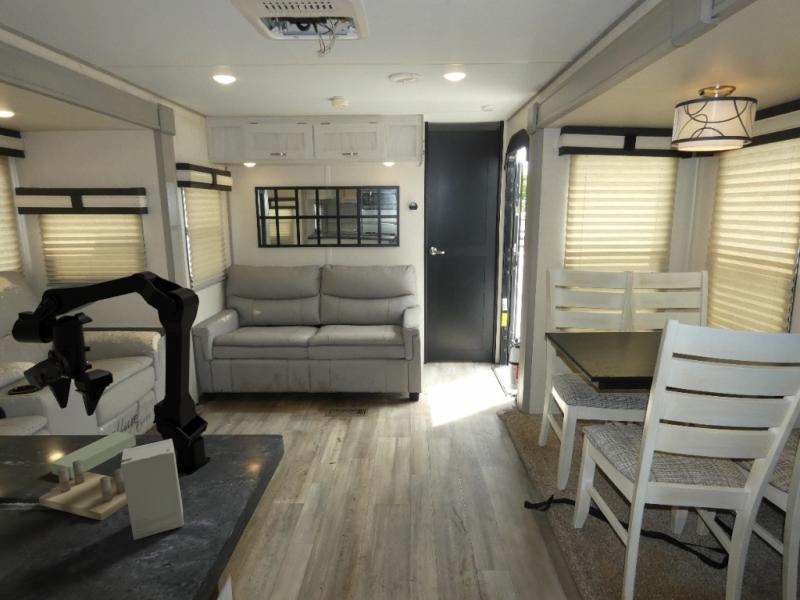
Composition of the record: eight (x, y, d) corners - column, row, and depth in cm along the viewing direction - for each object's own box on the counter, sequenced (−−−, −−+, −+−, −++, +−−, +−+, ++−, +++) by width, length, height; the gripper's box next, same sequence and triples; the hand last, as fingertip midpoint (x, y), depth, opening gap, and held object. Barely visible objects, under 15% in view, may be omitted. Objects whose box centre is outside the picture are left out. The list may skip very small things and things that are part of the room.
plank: (118, 442, 119) (116, 431, 118) (136, 446, 117) (134, 435, 116) (52, 475, 104) (50, 462, 103) (72, 480, 102) (70, 467, 101)
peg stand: (146, 490, 97) (143, 463, 96) (102, 520, 87) (97, 490, 86) (87, 478, 102) (84, 452, 101) (40, 505, 93) (35, 476, 91)
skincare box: (182, 510, 90) (175, 436, 88) (184, 528, 85) (175, 450, 82) (132, 522, 87) (122, 446, 84) (130, 542, 81) (119, 462, 79)
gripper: (0, 347, 100) (10, 417, 103) (57, 359, 93) (66, 434, 95) (56, 335, 110) (64, 399, 113) (111, 345, 103) (118, 413, 105)
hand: (76, 411), depth 106 cm, fingers open, 9 cm apart
